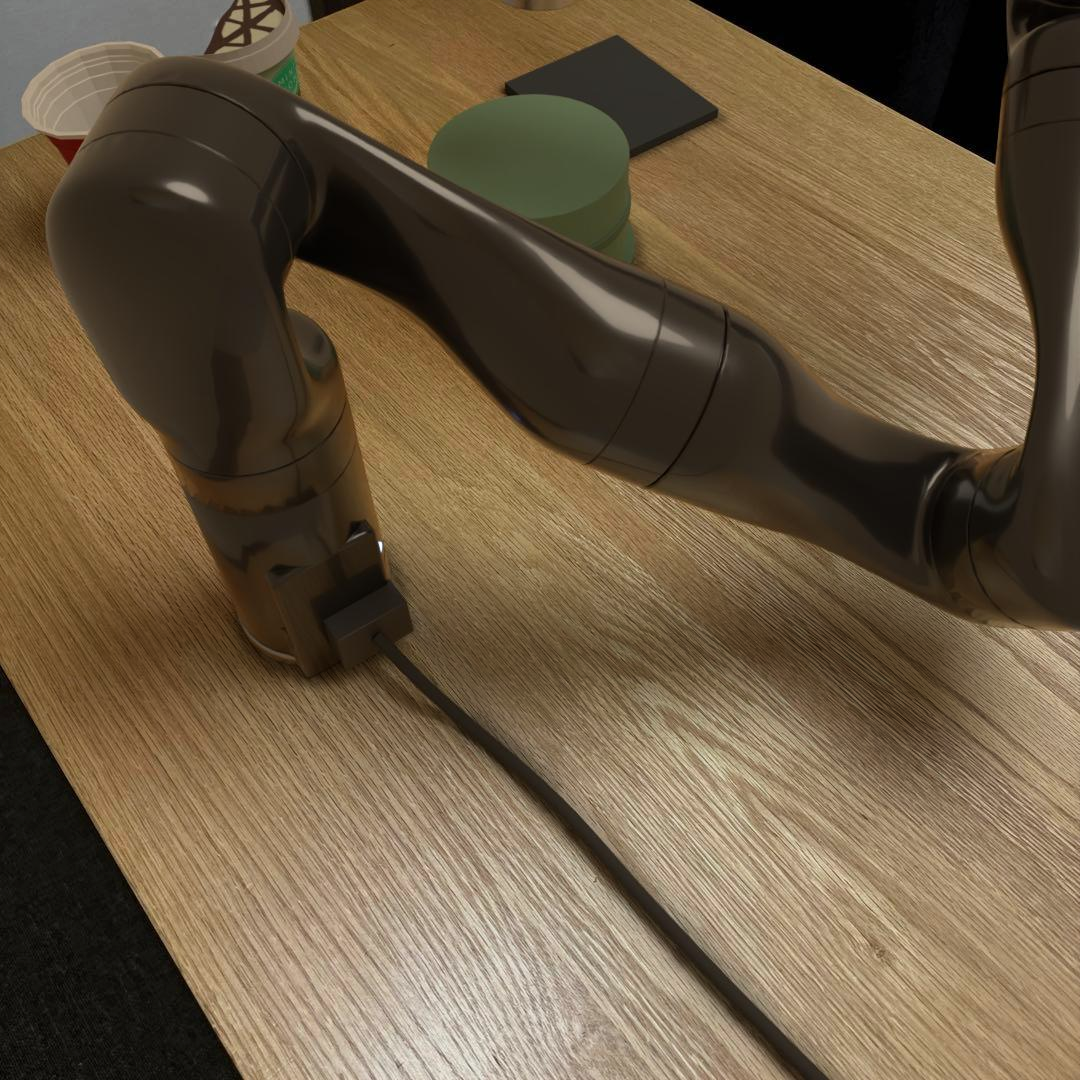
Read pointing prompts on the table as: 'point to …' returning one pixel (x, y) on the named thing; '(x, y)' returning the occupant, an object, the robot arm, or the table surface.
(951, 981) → the table surface
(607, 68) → the mat
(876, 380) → the table surface
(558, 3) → the steel cup
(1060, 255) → the robot arm
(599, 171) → the sage green puck
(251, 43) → the food container
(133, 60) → the plastic cup
